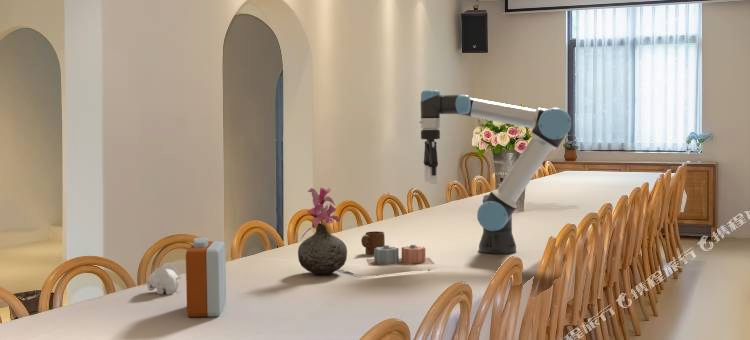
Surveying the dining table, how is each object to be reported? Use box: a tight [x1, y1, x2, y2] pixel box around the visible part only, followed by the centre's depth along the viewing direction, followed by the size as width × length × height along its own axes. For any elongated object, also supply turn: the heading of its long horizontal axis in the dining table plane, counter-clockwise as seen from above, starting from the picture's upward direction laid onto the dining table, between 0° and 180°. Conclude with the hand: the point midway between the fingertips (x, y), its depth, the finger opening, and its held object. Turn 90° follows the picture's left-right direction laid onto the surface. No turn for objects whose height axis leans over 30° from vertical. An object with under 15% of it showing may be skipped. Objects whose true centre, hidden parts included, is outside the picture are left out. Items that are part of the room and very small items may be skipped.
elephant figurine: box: [142, 261, 182, 295], centre depth 247 cm, size 10×12×9 cm
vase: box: [297, 187, 348, 277], centre depth 275 cm, size 17×17×30 cm
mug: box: [361, 230, 386, 256], centre depth 312 cm, size 12×8×9 cm, turn 143°
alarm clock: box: [185, 237, 227, 318], centre depth 222 cm, size 18×9×21 cm, turn 5°
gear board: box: [365, 244, 435, 267], centre depth 294 cm, size 24×14×7 cm, turn 95°
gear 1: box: [373, 246, 400, 264], centre depth 293 cm, size 9×9×5 cm
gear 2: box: [401, 245, 426, 263], centre depth 294 cm, size 9×9×5 cm
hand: (430, 182), depth 315 cm, fingers open, 13 cm apart
